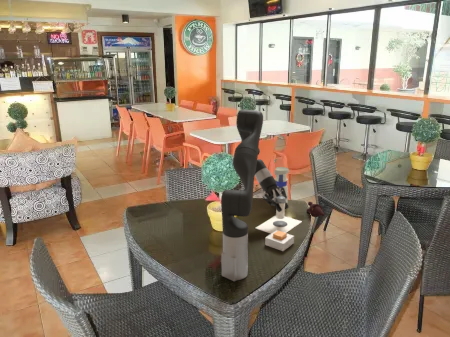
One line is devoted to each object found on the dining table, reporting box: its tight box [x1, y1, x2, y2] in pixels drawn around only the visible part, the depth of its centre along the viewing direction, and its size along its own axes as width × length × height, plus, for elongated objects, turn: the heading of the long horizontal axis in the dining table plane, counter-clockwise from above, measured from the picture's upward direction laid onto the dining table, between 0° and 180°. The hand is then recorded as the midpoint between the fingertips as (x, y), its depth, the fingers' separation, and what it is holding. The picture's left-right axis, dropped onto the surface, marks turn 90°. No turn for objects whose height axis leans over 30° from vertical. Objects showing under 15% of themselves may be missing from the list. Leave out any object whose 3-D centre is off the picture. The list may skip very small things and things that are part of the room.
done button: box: [273, 231, 288, 241], centre depth 162 cm, size 4×4×2 cm
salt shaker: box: [275, 196, 286, 219], centre depth 179 cm, size 4×4×10 cm
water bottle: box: [273, 157, 290, 204], centre depth 206 cm, size 8×9×25 cm
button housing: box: [264, 230, 295, 252], centre depth 162 cm, size 9×9×4 cm
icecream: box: [306, 201, 326, 218], centre depth 189 cm, size 7×7×15 cm
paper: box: [255, 215, 303, 235], centre depth 181 cm, size 20×14×1 cm
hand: (283, 209), depth 178 cm, fingers closed on salt shaker, 4 cm apart
